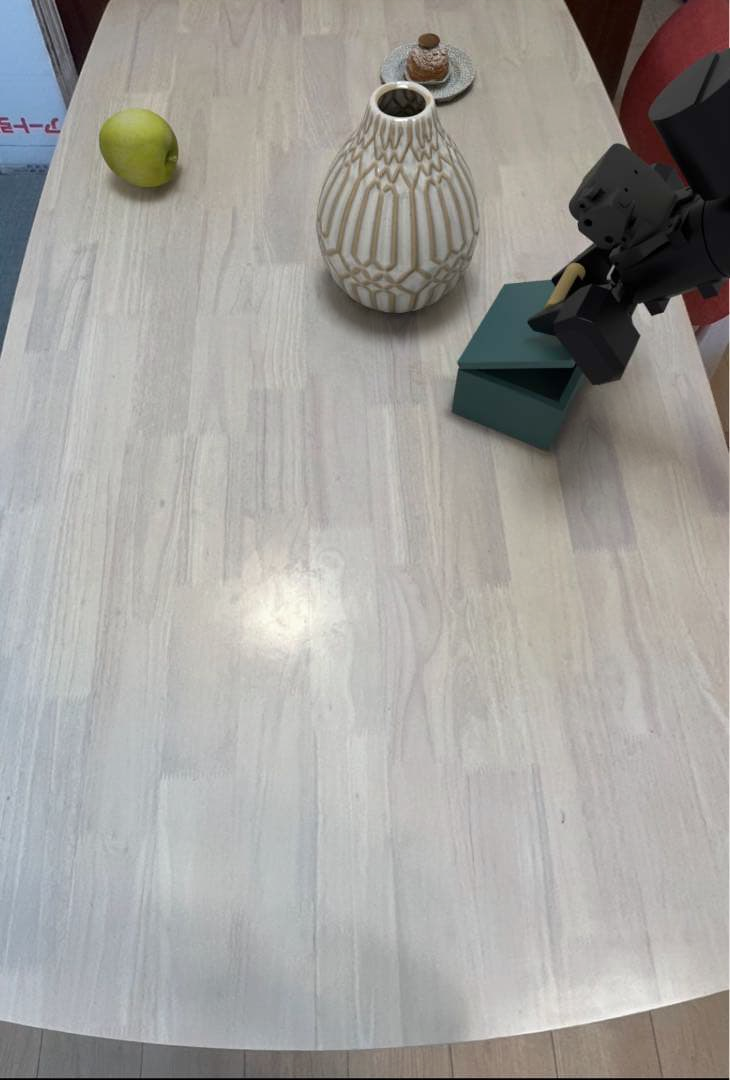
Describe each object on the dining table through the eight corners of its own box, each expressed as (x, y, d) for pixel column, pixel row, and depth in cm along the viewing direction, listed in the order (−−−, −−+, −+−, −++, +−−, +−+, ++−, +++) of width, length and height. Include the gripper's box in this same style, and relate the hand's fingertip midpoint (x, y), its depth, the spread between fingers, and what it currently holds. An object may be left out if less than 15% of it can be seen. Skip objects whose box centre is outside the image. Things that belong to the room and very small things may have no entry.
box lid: (618, 280, 64) (606, 238, 61) (573, 367, 60) (558, 326, 57) (507, 290, 71) (491, 252, 68) (459, 369, 67) (441, 332, 64)
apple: (176, 209, 86) (158, 145, 79) (103, 196, 87) (78, 131, 80) (200, 165, 89) (185, 99, 82) (129, 152, 90) (108, 86, 83)
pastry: (481, 57, 98) (486, 19, 94) (464, 114, 93) (468, 76, 89) (392, 44, 99) (393, 6, 95) (370, 99, 94) (370, 62, 90)
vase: (335, 350, 76) (323, 176, 58) (310, 240, 83) (292, 55, 65) (487, 325, 77) (521, 147, 60) (449, 219, 84) (470, 32, 67)
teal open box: (588, 372, 74) (605, 328, 69) (548, 452, 70) (563, 411, 65) (495, 336, 77) (504, 290, 71) (451, 412, 73) (457, 369, 67)
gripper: (711, 52, 51) (532, 157, 63) (617, 226, 43) (435, 306, 56) (778, 188, 56) (600, 260, 68) (704, 364, 48) (519, 409, 61)
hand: (542, 303), depth 63 cm, fingers closed on box lid, 5 cm apart
